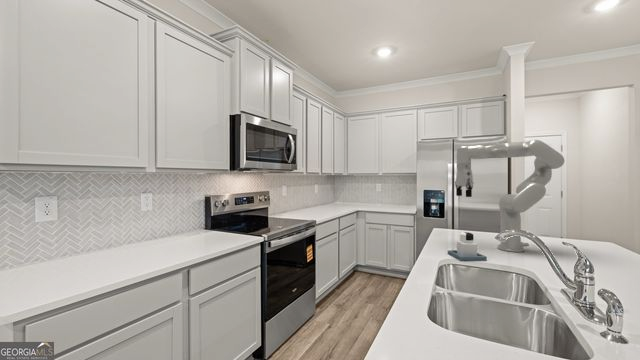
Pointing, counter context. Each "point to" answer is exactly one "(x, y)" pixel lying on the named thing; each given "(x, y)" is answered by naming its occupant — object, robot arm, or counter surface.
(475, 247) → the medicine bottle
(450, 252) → the tray
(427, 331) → the counter surface
